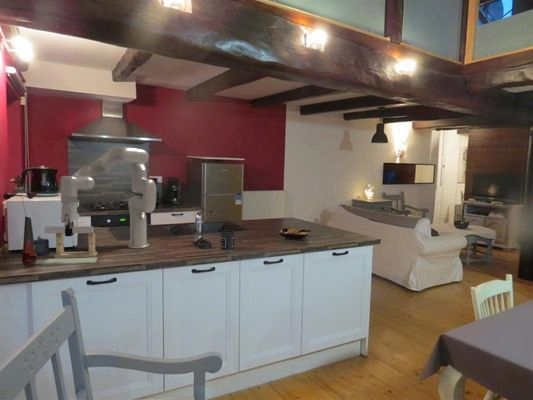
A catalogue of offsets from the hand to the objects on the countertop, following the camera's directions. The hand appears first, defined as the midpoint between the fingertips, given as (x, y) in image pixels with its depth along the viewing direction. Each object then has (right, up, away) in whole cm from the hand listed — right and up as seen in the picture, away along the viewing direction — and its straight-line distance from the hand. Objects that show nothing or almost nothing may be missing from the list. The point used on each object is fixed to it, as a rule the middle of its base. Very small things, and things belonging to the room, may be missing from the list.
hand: (69, 235), depth 190 cm
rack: (-3, -13, +13) cm, 18 cm away
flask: (-22, -13, +11) cm, 28 cm away
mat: (0, -14, +2) cm, 14 cm away
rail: (0, +1, 0) cm, 1 cm away
